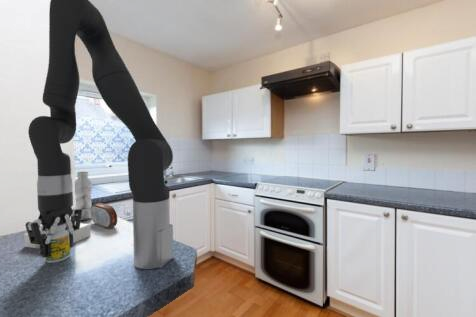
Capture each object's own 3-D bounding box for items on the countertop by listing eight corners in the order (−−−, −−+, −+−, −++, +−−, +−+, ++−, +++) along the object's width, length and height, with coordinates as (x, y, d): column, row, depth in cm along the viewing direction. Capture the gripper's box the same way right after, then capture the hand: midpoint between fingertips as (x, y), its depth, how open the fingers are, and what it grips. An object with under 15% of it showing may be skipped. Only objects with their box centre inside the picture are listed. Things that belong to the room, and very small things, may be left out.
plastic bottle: (70, 221, 94) (68, 172, 93) (84, 216, 101) (83, 171, 99) (83, 222, 92) (81, 173, 91) (97, 217, 99) (95, 171, 98)
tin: (118, 228, 87) (117, 206, 86) (110, 231, 84) (109, 208, 83) (97, 221, 95) (97, 201, 94) (89, 223, 92) (88, 202, 91)
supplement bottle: (70, 252, 67) (69, 220, 67) (69, 260, 63) (68, 225, 62) (46, 257, 64) (45, 223, 64) (43, 265, 60) (42, 229, 59)
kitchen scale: (90, 235, 80) (90, 221, 79) (54, 251, 67) (53, 235, 67) (62, 232, 82) (62, 219, 82) (23, 247, 70) (22, 231, 70)
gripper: (38, 197, 55) (41, 266, 56) (89, 187, 69) (91, 242, 70) (14, 196, 56) (17, 263, 57) (69, 185, 70) (70, 239, 71)
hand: (57, 251), depth 63 cm, fingers closed on supplement bottle, 5 cm apart
